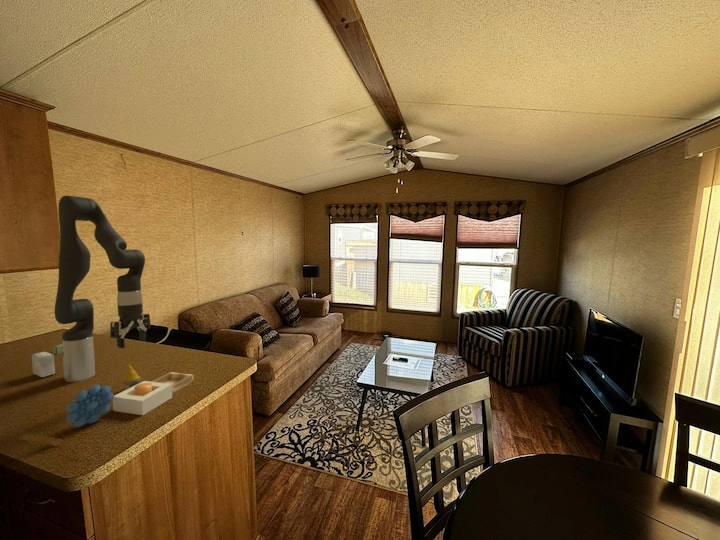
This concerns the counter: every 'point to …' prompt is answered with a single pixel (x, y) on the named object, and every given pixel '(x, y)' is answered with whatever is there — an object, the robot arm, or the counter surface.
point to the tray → (176, 380)
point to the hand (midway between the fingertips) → (132, 344)
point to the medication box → (58, 349)
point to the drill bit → (131, 377)
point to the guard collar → (142, 399)
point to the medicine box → (43, 364)
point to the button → (143, 389)
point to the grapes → (89, 405)
